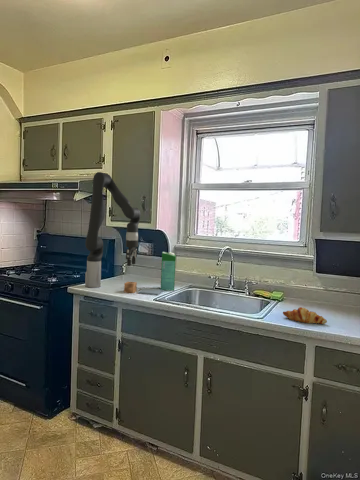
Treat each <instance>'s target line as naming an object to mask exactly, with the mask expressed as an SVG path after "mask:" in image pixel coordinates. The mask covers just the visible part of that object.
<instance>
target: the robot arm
mask: <svg viewBox="0 0 360 480" xmlns="http://www.w3.org/2000/svg"><path fill="white" fill-rule="evenodd" d="M104 189H106V190H107V191H109V193H110V194H111V196H112V199H113V200H114V202H115V203H116V205H117V206H118V207H119V208H120V209H121V211H122V213H123V215H124V216H125V217H126V218H127V219H129V222H128V223H127V224H126V235H125V248H128V249H126V250H125V260H126V266H127V267H131V266H132V265H135V264H136V258H137V257H138V247H139V224H140V220H141V211H140V209H139V208H137V207H132V206H131V201H130V200H129V199H128V198H127V197H126V195H125V194H124V193H123V192H122V191H121V190H120V189H119V187H118V186H117V183H115V181H114V180H113V178H112V176H111V175H110V174H108V173H105V172H101V171H97V172H96V173H94V175H93V178H92V196H91V197H92V198H91V205H90V214H89V222H88V227H87V228H88V229H87V234H86V238H85V243H84V244H85V248H86V250H87V251H89V253H88V256H87V257H86V271H85V274H84V278H85V279H84V281H85V282H84V286H85V287H87V288H94V289H95V288H100V287H101V282H102V281H101V280H102V258H103V254H104V241H103V239H102V238H101V237H100V236H99V231H100V228H101V226H102V224H103V222H104V219H105V215H106V204H105V201H104V196H103V191H104Z"/></svg>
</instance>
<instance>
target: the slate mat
mask: <svg viewBox="0 0 360 480" xmlns="http://www.w3.org/2000/svg"><path fill="white" fill-rule="evenodd" d="M163 292H164V290H162V289H161V288H149V287H144V288H142V289H140V290H139V291H138V292H137V294H139V295H149V296H150V295H151V296H152V295H153V296H159V295H161V294H162V293H163Z"/></svg>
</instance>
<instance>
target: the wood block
mask: <svg viewBox="0 0 360 480" xmlns="http://www.w3.org/2000/svg"><path fill="white" fill-rule="evenodd" d="M137 285H138V282H137V281H126V282H124V286H123V288H124V290H123V293H126V294H134V293H137V288H138V287H137Z"/></svg>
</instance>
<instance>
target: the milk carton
mask: <svg viewBox="0 0 360 480" xmlns="http://www.w3.org/2000/svg"><path fill="white" fill-rule="evenodd" d="M176 256H177V255H176V254H175V253H174V252H170V251H169V252H166V251H162V252H161V272H160V289H162V290H163V291H169V292H170V291H173V292H174V291H175V281H176V280H175V279H176V262H177V261H176V259H177V257H176Z"/></svg>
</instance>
